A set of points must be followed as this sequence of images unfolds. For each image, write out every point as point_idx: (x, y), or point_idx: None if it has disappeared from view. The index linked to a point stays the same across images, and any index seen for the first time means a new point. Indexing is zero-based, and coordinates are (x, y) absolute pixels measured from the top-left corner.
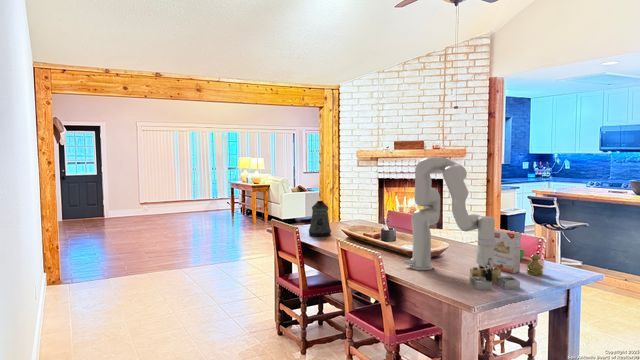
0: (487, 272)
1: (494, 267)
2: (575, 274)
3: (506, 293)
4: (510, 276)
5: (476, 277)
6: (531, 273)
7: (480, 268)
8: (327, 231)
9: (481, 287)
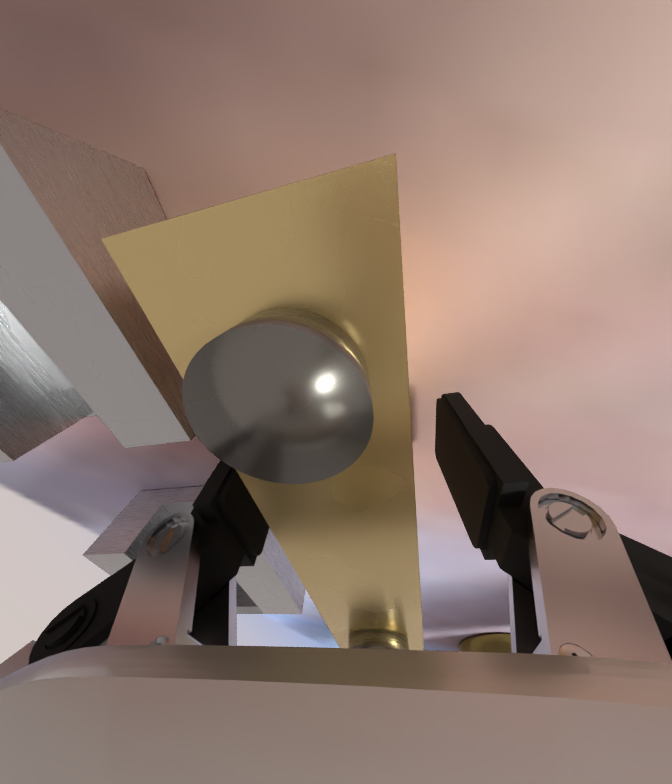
0: (158, 539)
1: None
2: None
3: (44, 477)
4: (285, 610)
5: (44, 304)
6: (479, 648)
7: (400, 515)
8: None
9: None
